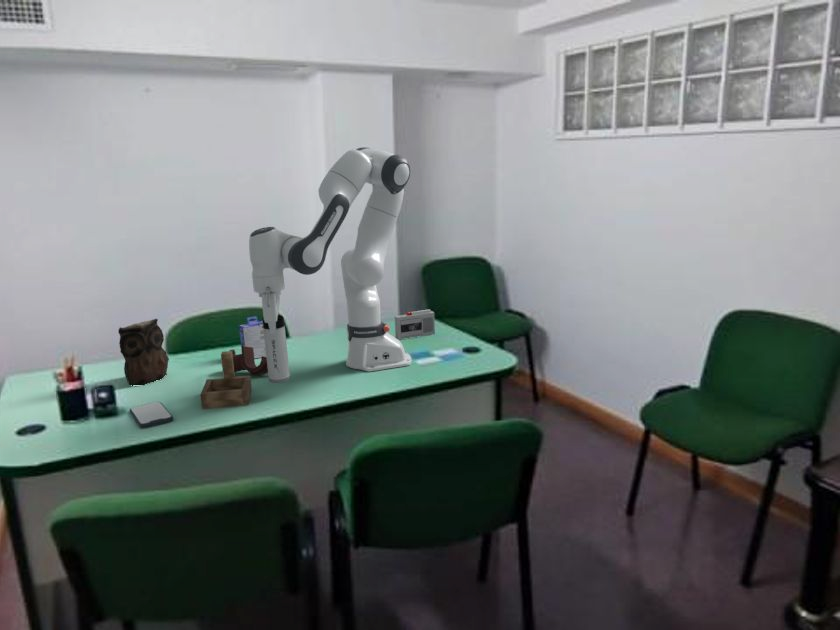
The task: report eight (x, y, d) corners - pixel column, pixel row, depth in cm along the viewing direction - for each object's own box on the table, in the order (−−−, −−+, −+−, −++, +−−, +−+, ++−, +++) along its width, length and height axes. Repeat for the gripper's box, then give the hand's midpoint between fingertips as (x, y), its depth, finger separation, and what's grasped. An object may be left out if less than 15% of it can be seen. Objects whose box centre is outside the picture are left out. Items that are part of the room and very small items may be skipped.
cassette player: (398, 340, 244) (397, 315, 242) (395, 338, 247) (394, 313, 244) (434, 334, 251) (434, 310, 248) (431, 332, 253) (431, 308, 250)
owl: (172, 373, 214) (164, 316, 209) (158, 386, 202) (150, 326, 197) (134, 375, 214) (125, 317, 209) (118, 388, 202) (108, 328, 197)
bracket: (268, 371, 205) (265, 340, 207) (222, 379, 209) (219, 349, 211) (277, 372, 211) (274, 342, 212) (232, 380, 215) (230, 350, 217)
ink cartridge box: (267, 351, 235) (263, 314, 231) (272, 355, 230) (269, 316, 227) (241, 357, 229) (237, 318, 226) (246, 360, 225) (242, 321, 221)
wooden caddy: (252, 385, 200) (248, 349, 197) (248, 404, 185) (244, 365, 182) (209, 389, 198) (205, 353, 195) (202, 409, 182) (197, 369, 180)
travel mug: (279, 374, 196) (272, 312, 191) (294, 378, 192) (288, 314, 187) (263, 380, 191) (256, 316, 186) (278, 384, 187) (271, 319, 182)
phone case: (129, 413, 183) (140, 430, 170) (128, 407, 183) (139, 425, 170) (161, 405, 188) (174, 422, 175) (160, 400, 187) (174, 416, 174)
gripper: (278, 290, 175) (283, 338, 178) (280, 276, 194) (285, 320, 198) (255, 292, 174) (260, 340, 177) (259, 278, 193) (264, 322, 197)
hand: (273, 329), depth 188 cm, fingers closed on travel mug, 6 cm apart
